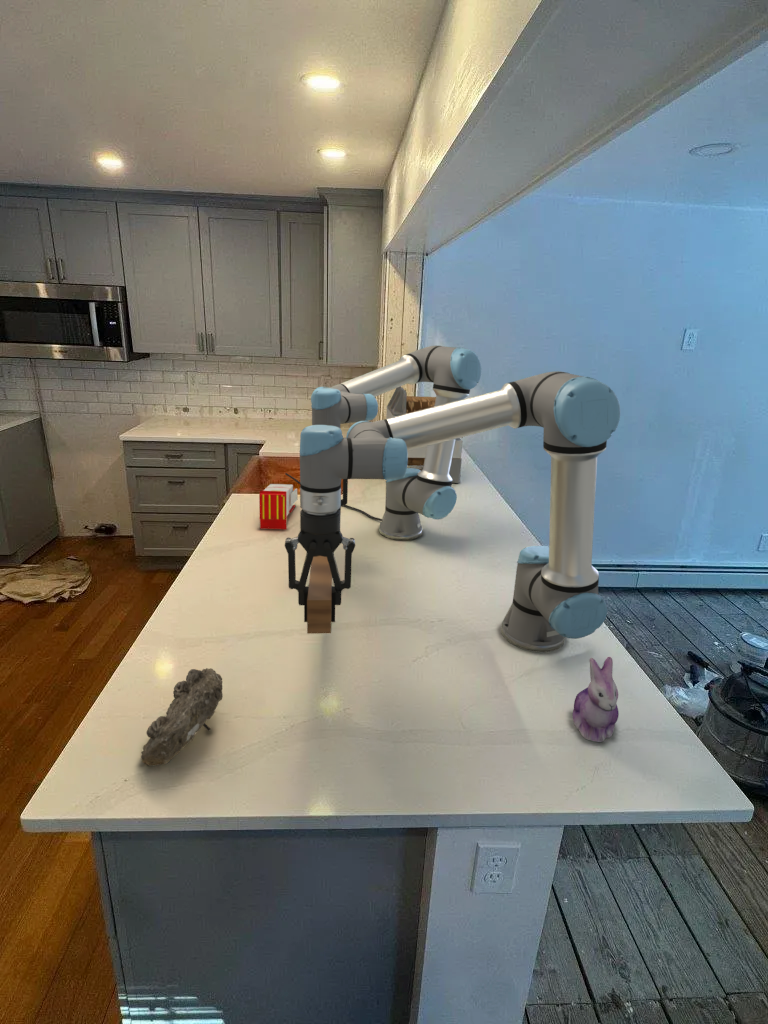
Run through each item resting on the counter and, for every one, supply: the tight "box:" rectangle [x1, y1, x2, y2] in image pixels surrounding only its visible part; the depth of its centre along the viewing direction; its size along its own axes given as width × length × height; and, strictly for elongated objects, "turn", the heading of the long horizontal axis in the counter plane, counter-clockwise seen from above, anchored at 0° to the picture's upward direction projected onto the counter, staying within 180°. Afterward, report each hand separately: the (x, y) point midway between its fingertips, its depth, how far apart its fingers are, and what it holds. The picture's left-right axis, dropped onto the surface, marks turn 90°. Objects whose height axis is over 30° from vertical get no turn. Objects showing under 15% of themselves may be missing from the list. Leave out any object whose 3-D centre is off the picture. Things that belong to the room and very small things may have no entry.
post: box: [306, 556, 333, 635], centre depth 136 cm, size 60×5×7 cm, turn 4°
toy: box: [258, 483, 299, 530], centre depth 210 cm, size 12×13×30 cm
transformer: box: [385, 386, 464, 484], centre depth 268 cm, size 34×33×41 cm
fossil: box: [140, 667, 224, 767], centre depth 103 cm, size 22×10×15 cm
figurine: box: [571, 656, 620, 743], centre depth 107 cm, size 9×10×15 cm
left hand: (325, 526), depth 161 cm, fingers closed on post, 5 cm apart
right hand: (319, 618), depth 114 cm, fingers closed on post, 5 cm apart
